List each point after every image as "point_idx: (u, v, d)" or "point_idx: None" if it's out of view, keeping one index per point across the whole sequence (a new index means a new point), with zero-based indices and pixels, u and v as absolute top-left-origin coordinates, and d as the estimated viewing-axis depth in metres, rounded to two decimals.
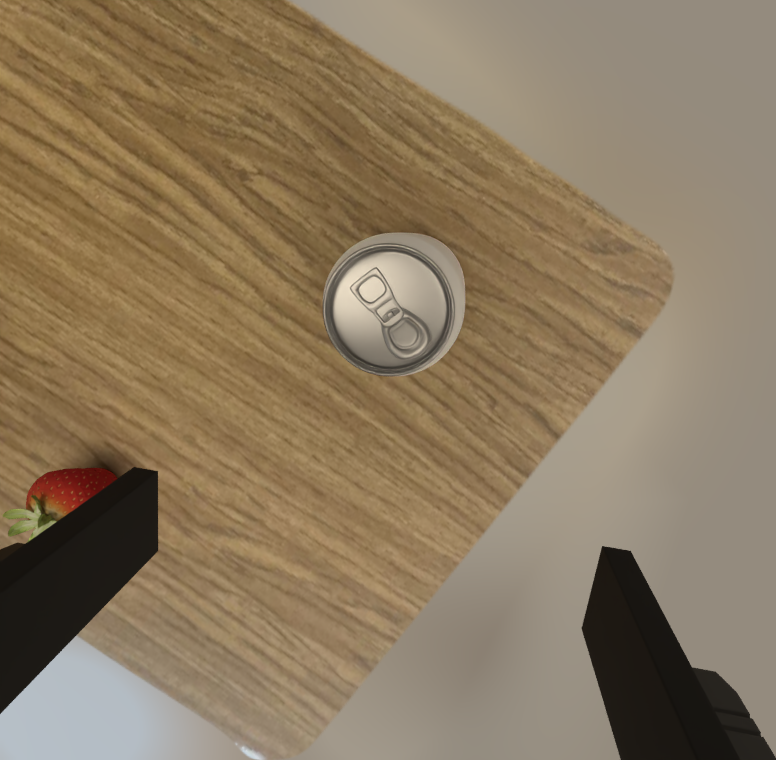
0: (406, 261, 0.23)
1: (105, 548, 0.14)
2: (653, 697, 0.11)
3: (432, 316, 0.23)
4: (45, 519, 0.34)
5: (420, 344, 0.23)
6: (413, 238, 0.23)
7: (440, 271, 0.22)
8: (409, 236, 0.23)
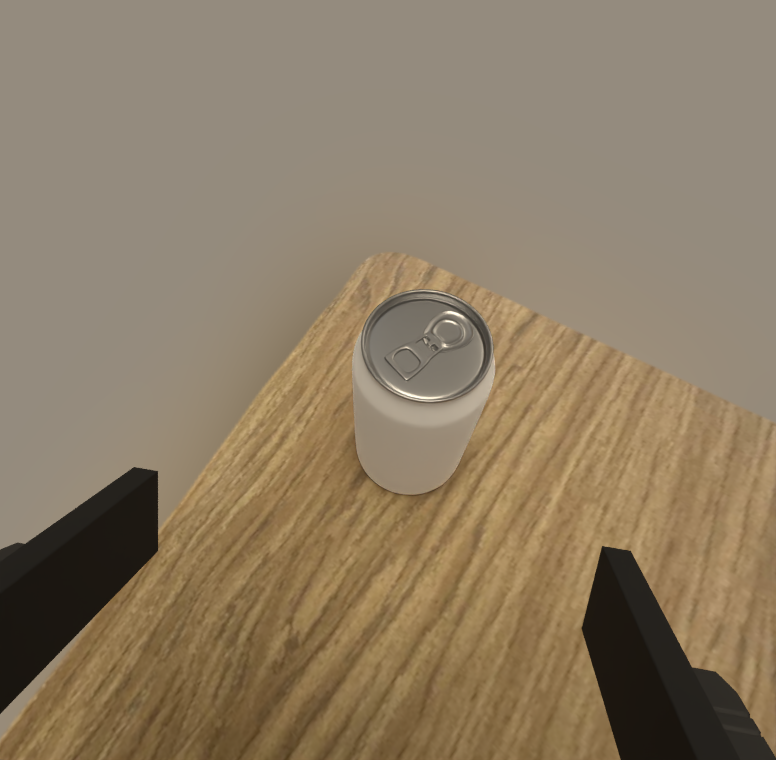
0: (377, 332, 0.24)
1: (105, 548, 0.14)
2: (653, 697, 0.11)
3: (427, 310, 0.24)
4: None
5: (456, 319, 0.24)
6: (356, 342, 0.25)
7: (385, 300, 0.24)
8: (355, 347, 0.25)
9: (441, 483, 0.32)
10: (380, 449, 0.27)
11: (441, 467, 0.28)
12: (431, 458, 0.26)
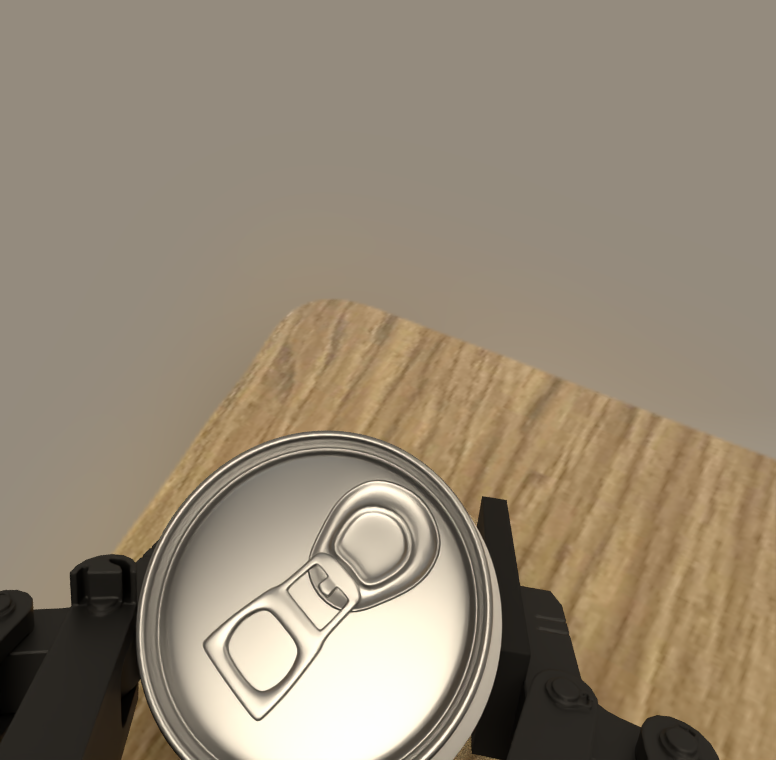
0: (193, 563, 0.09)
1: None
2: None
3: (323, 484, 0.10)
4: None
5: (394, 503, 0.10)
6: None
7: (213, 473, 0.10)
8: None
9: None
10: None
11: None
12: None
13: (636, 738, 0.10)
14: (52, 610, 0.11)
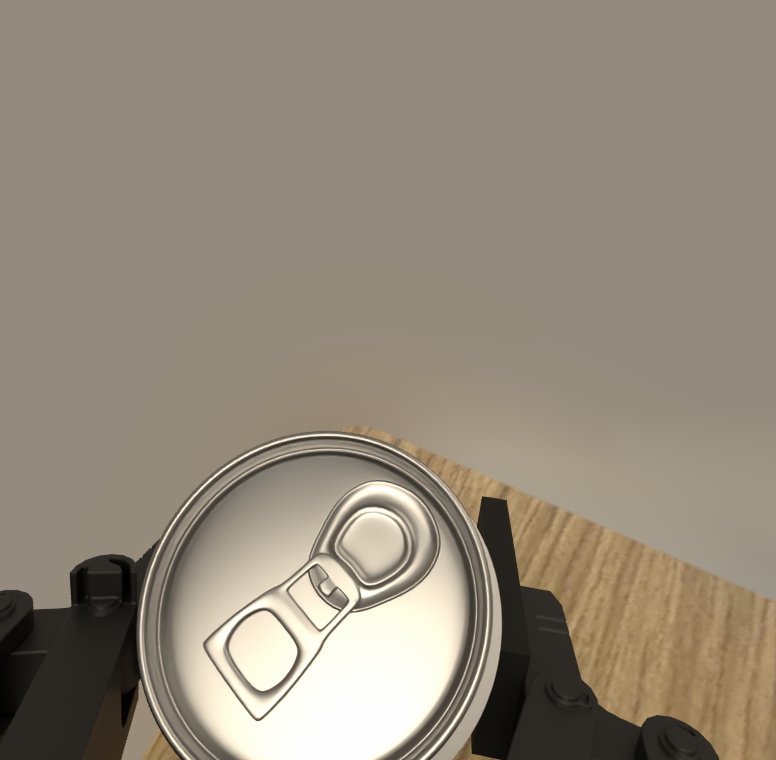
0: (193, 563, 0.09)
1: None
2: None
3: (323, 484, 0.10)
4: None
5: (394, 503, 0.10)
6: None
7: (213, 473, 0.10)
8: None
9: None
10: None
11: None
12: None
13: (636, 738, 0.10)
14: (52, 610, 0.11)
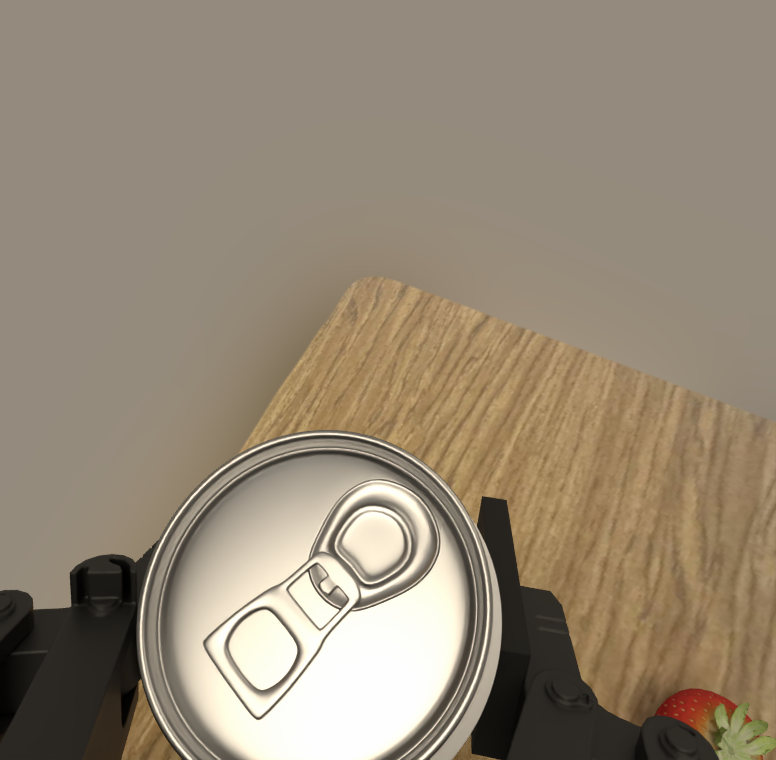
0: (193, 562, 0.09)
1: None
2: None
3: (323, 483, 0.10)
4: (719, 733, 0.27)
5: (394, 502, 0.10)
6: None
7: (213, 472, 0.10)
8: None
9: None
10: None
11: None
12: None
13: (636, 738, 0.10)
14: (52, 610, 0.11)
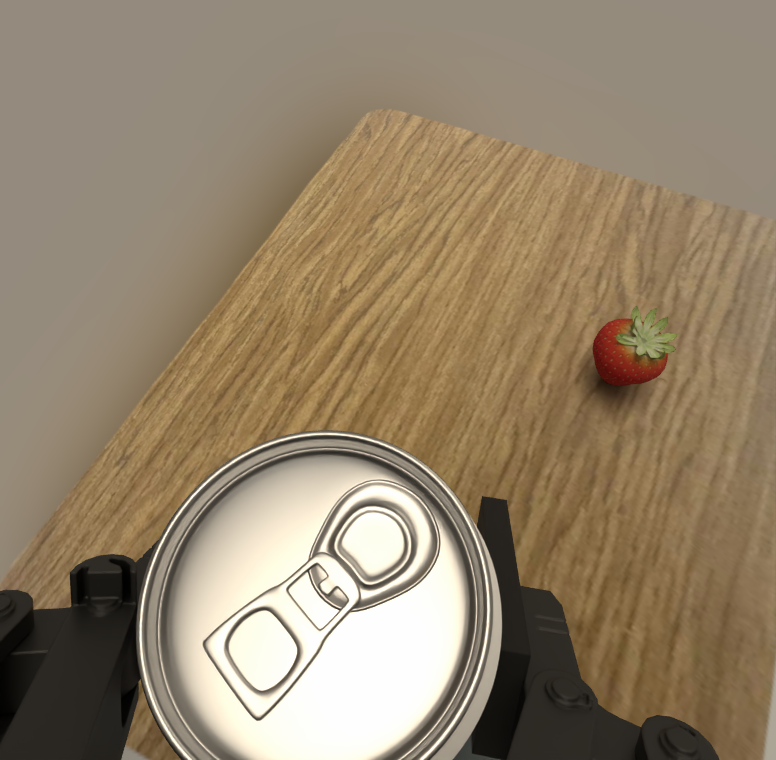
0: (193, 562, 0.09)
1: None
2: None
3: (323, 484, 0.10)
4: (633, 323, 0.39)
5: (394, 502, 0.10)
6: None
7: (213, 473, 0.10)
8: None
9: None
10: None
11: None
12: None
13: (636, 738, 0.10)
14: (52, 610, 0.11)
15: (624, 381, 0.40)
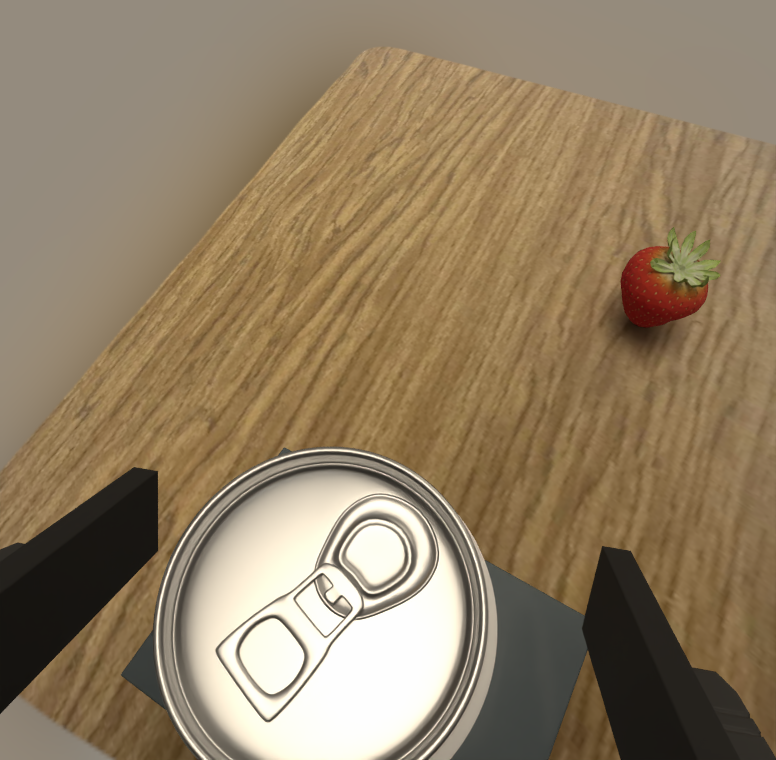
0: (206, 573, 0.10)
1: (105, 548, 0.14)
2: (653, 697, 0.11)
3: (328, 497, 0.10)
4: (670, 247, 0.34)
5: (395, 515, 0.10)
6: None
7: (224, 487, 0.10)
8: None
9: None
10: None
11: None
12: None
13: None
14: None
15: (658, 316, 0.35)
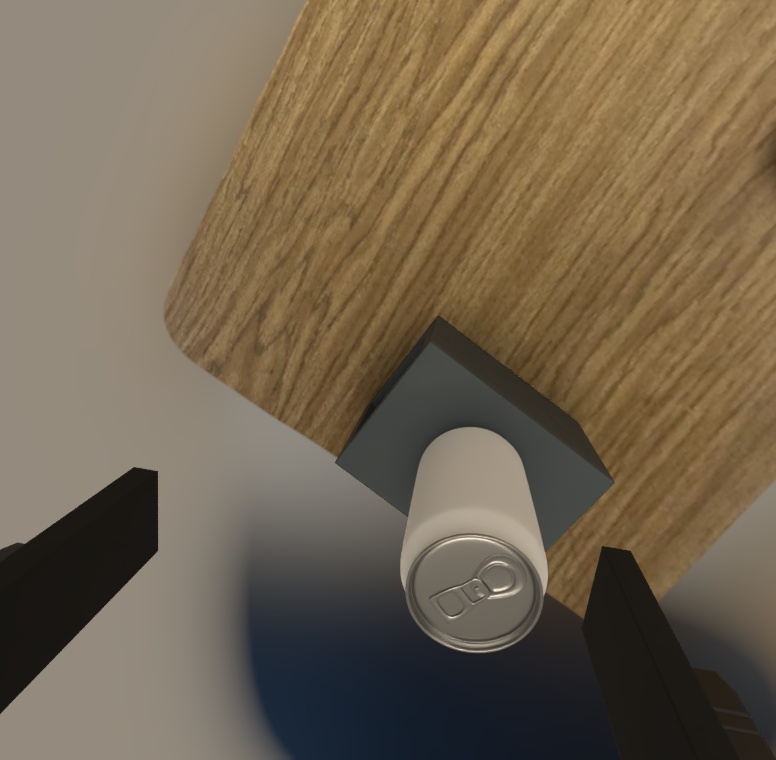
0: (423, 571, 0.23)
1: (105, 548, 0.14)
2: (653, 697, 0.11)
3: (479, 551, 0.22)
4: None
5: (509, 564, 0.22)
6: (404, 551, 0.24)
7: (433, 546, 0.22)
8: (402, 553, 0.24)
9: None
10: None
11: None
12: None
13: None
14: None
15: None
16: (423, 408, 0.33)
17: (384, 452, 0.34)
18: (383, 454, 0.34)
